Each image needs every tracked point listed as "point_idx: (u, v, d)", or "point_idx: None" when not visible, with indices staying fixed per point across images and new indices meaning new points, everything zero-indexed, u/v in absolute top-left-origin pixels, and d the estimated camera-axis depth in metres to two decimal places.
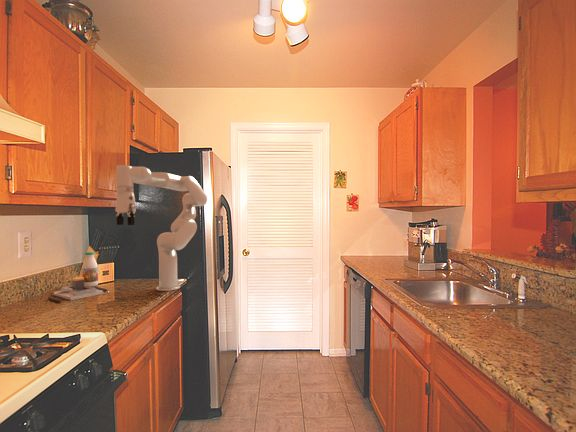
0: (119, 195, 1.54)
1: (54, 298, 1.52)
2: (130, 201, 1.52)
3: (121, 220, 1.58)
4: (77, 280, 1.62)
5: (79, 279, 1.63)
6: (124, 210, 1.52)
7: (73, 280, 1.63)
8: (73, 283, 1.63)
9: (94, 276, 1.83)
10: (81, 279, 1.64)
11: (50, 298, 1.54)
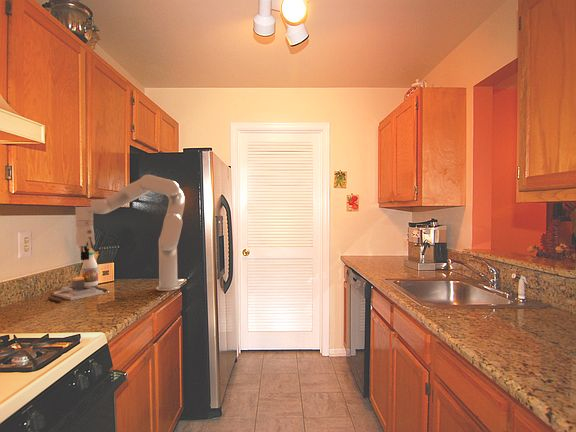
0: (78, 229, 1.58)
1: (54, 298, 1.52)
2: (89, 235, 1.57)
3: None
4: (77, 280, 1.62)
5: (79, 279, 1.63)
6: (83, 244, 1.57)
7: (73, 280, 1.63)
8: (73, 283, 1.63)
9: (94, 276, 1.83)
10: (81, 279, 1.64)
11: (50, 298, 1.54)
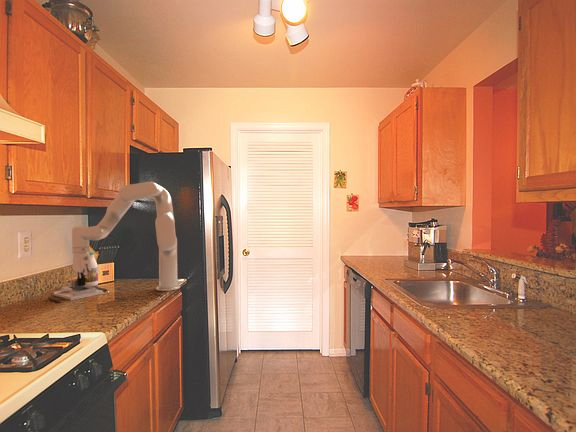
0: (75, 255, 1.61)
1: (54, 298, 1.52)
2: (85, 261, 1.60)
3: None
4: (76, 280, 1.63)
5: None
6: (79, 270, 1.59)
7: (72, 280, 1.64)
8: (72, 283, 1.64)
9: (94, 276, 1.83)
10: None
11: (50, 298, 1.54)
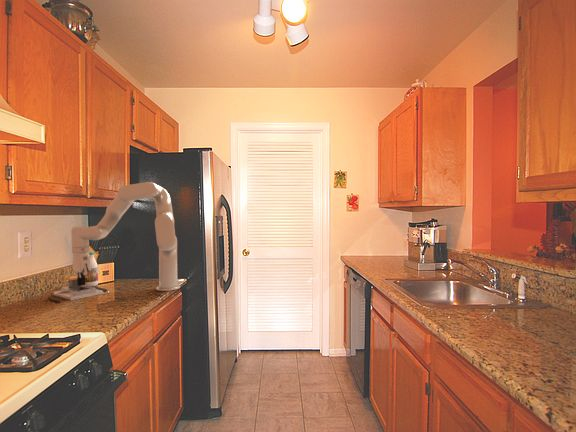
0: (74, 255, 1.61)
1: (54, 298, 1.52)
2: (85, 261, 1.60)
3: None
4: (73, 279, 1.65)
5: (75, 278, 1.66)
6: (79, 270, 1.60)
7: (70, 279, 1.66)
8: (70, 282, 1.66)
9: (94, 276, 1.83)
10: None
11: (50, 298, 1.54)
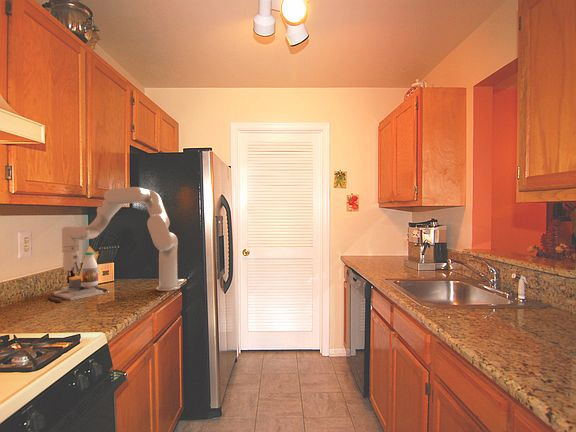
0: (64, 254, 1.67)
1: (54, 298, 1.52)
2: (74, 260, 1.66)
3: None
4: (74, 279, 1.65)
5: (76, 278, 1.65)
6: (69, 268, 1.66)
7: (70, 279, 1.65)
8: (70, 282, 1.65)
9: (94, 276, 1.83)
10: (78, 278, 1.66)
11: (50, 298, 1.54)
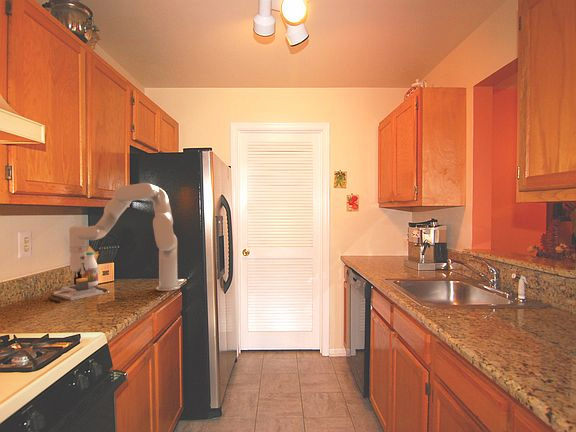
0: (72, 254, 1.63)
1: (54, 298, 1.52)
2: (82, 261, 1.62)
3: None
4: (81, 281, 1.60)
5: (83, 280, 1.61)
6: (76, 269, 1.61)
7: (77, 281, 1.61)
8: (77, 284, 1.61)
9: (94, 276, 1.83)
10: (85, 280, 1.62)
11: (50, 298, 1.54)
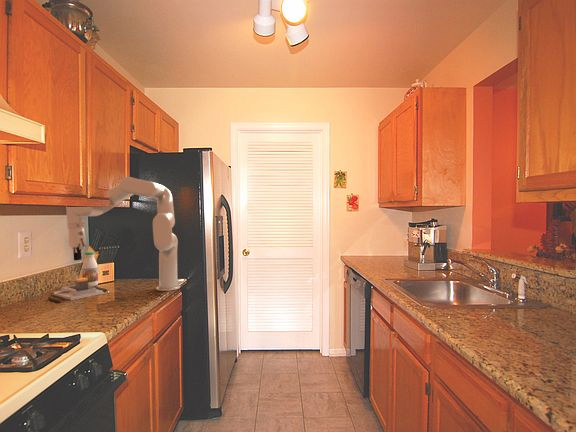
0: (70, 231, 1.68)
1: (54, 298, 1.52)
2: (80, 236, 1.67)
3: None
4: (81, 281, 1.60)
5: (83, 280, 1.61)
6: (75, 245, 1.66)
7: (77, 281, 1.61)
8: (77, 284, 1.61)
9: (94, 276, 1.83)
10: (85, 280, 1.62)
11: (50, 298, 1.54)
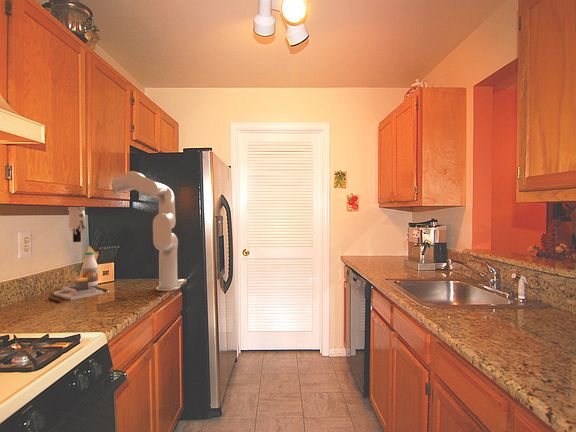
0: (70, 213, 1.70)
1: (54, 298, 1.52)
2: (80, 218, 1.68)
3: None
4: (81, 281, 1.60)
5: (83, 280, 1.61)
6: (75, 226, 1.68)
7: (77, 281, 1.61)
8: (77, 284, 1.61)
9: (94, 276, 1.83)
10: (85, 280, 1.62)
11: (50, 298, 1.54)
